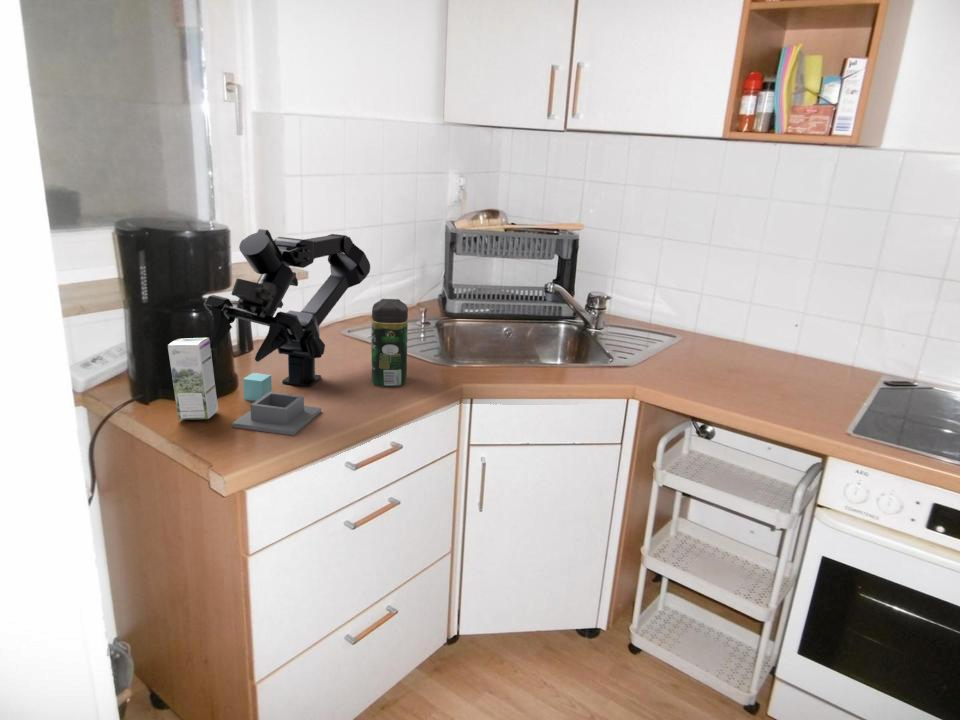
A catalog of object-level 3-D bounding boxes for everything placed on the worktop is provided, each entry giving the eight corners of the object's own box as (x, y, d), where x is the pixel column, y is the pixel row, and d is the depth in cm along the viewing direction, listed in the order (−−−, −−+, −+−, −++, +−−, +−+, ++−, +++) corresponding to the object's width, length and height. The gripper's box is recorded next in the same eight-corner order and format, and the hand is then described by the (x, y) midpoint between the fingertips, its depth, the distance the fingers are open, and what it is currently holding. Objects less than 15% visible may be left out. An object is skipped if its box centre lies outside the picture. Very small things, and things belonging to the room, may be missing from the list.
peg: (254, 393, 140) (253, 372, 139) (271, 395, 140) (271, 375, 138) (244, 399, 137) (243, 378, 135) (262, 402, 136) (261, 381, 135)
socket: (264, 404, 135) (263, 386, 134) (321, 411, 133) (320, 393, 132) (232, 427, 124) (231, 407, 123) (293, 435, 122) (293, 416, 121)
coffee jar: (372, 374, 156) (372, 295, 150) (406, 375, 157) (408, 296, 151) (369, 389, 147) (370, 305, 141) (406, 389, 147) (408, 307, 142)
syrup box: (219, 410, 130) (210, 336, 126) (208, 420, 124) (198, 343, 120) (189, 411, 130) (179, 337, 126) (177, 421, 124) (166, 344, 120)
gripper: (213, 253, 127) (171, 319, 120) (303, 274, 124) (266, 343, 117) (233, 288, 137) (195, 351, 130) (317, 308, 134) (284, 374, 127)
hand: (234, 354), depth 125 cm, fingers open, 9 cm apart
